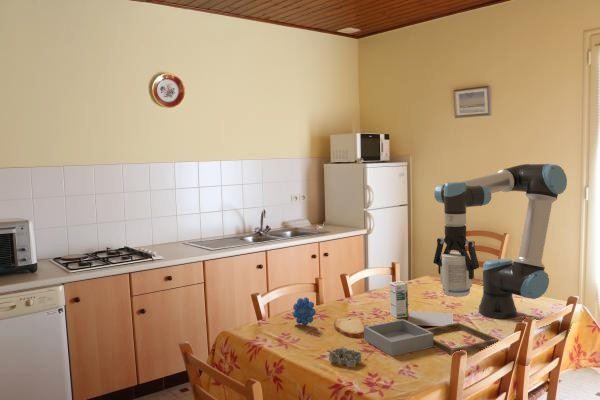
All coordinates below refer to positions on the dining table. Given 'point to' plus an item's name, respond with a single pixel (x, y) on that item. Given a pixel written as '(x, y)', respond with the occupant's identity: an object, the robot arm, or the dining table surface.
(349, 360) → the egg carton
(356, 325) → the bread slice
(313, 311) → the grapes
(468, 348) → the rim
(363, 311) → the dining table surface
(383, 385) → the dining table surface
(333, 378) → the dining table surface
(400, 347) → the grey bin
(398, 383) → the dining table surface
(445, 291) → the supplement tub
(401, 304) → the syrup box
